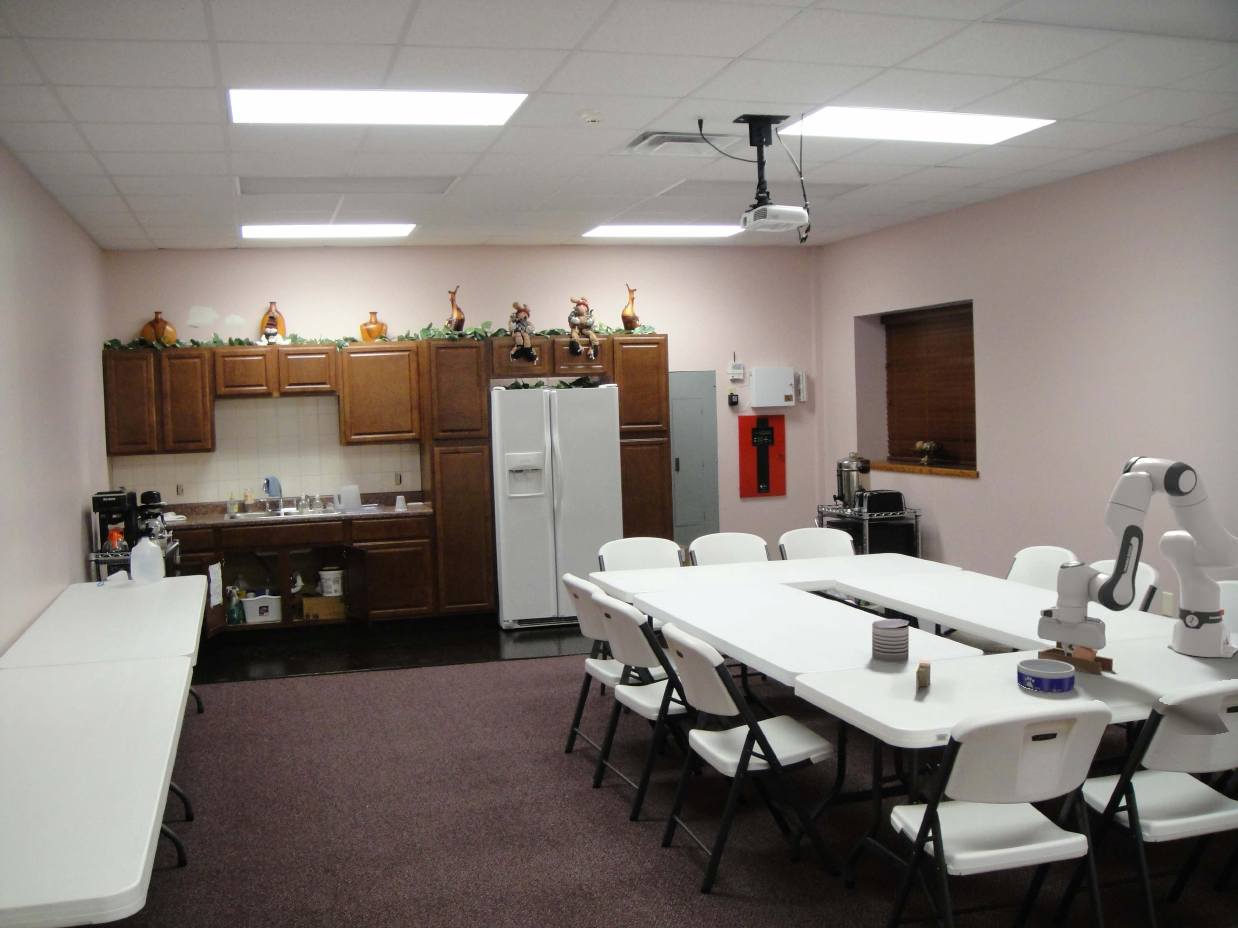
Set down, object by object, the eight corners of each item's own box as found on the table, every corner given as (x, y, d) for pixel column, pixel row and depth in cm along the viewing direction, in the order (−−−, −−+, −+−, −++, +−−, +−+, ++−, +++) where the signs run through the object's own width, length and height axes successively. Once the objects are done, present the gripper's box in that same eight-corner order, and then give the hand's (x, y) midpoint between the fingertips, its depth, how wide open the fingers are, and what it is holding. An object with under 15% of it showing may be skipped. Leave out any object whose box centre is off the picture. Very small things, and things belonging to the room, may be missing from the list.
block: (1077, 660, 307) (1083, 643, 305) (1091, 667, 303) (1097, 650, 301) (1070, 662, 304) (1076, 645, 302) (1084, 669, 300) (1090, 652, 299)
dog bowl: (1008, 686, 285) (1008, 665, 285) (1028, 675, 296) (1028, 655, 296) (1063, 696, 275) (1064, 675, 274) (1082, 684, 286) (1082, 664, 285)
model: (930, 685, 288) (930, 659, 288) (927, 695, 278) (928, 668, 278) (918, 684, 289) (918, 658, 289) (915, 694, 279) (916, 667, 279)
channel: (1051, 657, 315) (1051, 646, 315) (1112, 669, 300) (1112, 658, 300) (1037, 662, 310) (1038, 651, 310) (1099, 674, 295) (1099, 663, 295)
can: (907, 664, 309) (908, 626, 309) (870, 661, 313) (870, 624, 312) (909, 655, 320) (909, 618, 319) (873, 652, 324) (873, 616, 323)
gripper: (1110, 618, 299) (1109, 663, 300) (1045, 607, 315) (1044, 650, 316) (1100, 621, 295) (1099, 666, 296) (1035, 609, 311) (1034, 653, 312)
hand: (1070, 658), depth 306 cm, fingers closed
